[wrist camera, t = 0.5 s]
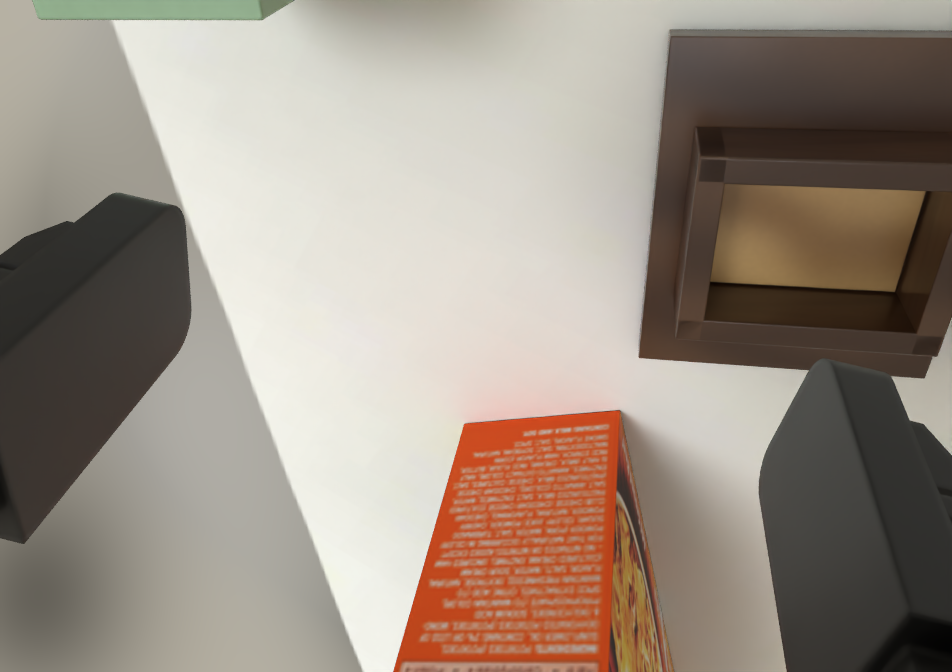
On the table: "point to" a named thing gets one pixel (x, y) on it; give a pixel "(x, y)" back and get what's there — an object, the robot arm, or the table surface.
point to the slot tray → (802, 200)
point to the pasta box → (538, 556)
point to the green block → (157, 9)
